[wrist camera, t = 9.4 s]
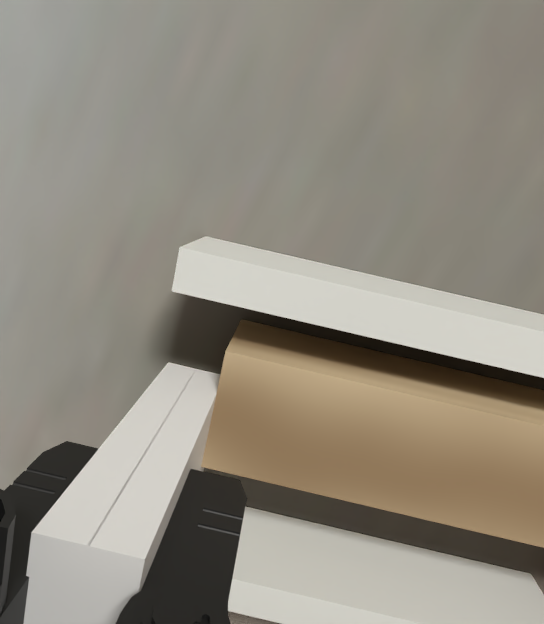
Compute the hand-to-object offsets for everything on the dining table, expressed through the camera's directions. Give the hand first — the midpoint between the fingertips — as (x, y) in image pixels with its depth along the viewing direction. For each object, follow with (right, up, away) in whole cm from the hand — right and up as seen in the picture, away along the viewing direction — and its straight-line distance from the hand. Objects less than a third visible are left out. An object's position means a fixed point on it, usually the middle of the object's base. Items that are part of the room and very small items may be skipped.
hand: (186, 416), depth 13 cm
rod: (+8, 0, +2) cm, 8 cm away
